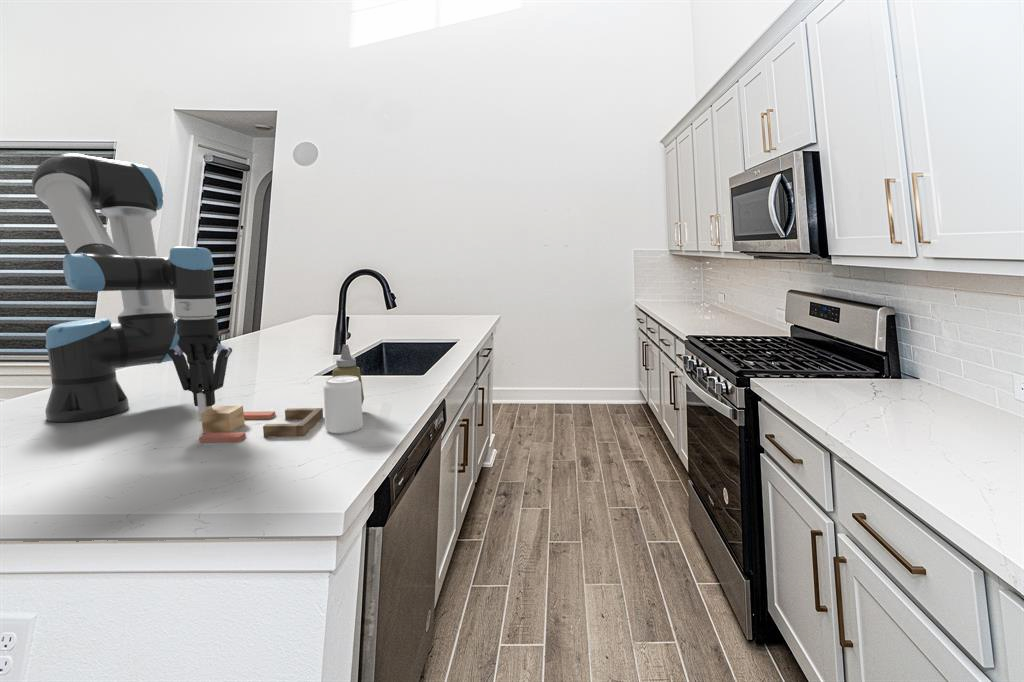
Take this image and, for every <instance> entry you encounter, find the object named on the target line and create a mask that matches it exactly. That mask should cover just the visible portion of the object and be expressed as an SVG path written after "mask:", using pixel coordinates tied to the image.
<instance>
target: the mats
mask: <svg viewBox="0 0 1024 682" xmlns="http://www.w3.org/2000/svg"><path fill="white" fill-rule="evenodd" d="M243 412H244V420H271V419H272V418H274V417H275V416H276V411H275V410H274V411H273V410H272V411H271V410H270V411H268V410H267V411H264V410H262V411H243ZM246 432H247V431H241V432H238V431H237V432H235V431H232V432H222V433H203V435H201V436H199V437H198V442H199V443H227V442H228V443H229V442H230V443H232V442H233V443H235V442H236V443H237V442H238V443H239V442H240V441H242V440H243V439H245V438H246V437H247V434H246Z"/></svg>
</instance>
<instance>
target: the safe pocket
mask: <svg viewBox="0 0 1024 682" xmlns="http://www.w3.org/2000/svg"><path fill="white" fill-rule="evenodd" d="M323 410H324V408H323V407H315V408H314V407H309V408H308V407H307V408H306V407H304V408H302V407H301V408H298V407H297V408H295V407H294V408H293V407H291V408H290V407H289V408H286V409H284V417H285V421H300V422H298V423H266V424H264V425H263V426H262V430H263V431H262V433H263V438H281V437H282V438H283V437H284V438H285V437H286V438H287V437H288V438H289V437H291V438H292V437H294V438H295V437H296V438H297V437H305V436H306V435H307V434H308V433H309V432H310V431H311V430H312V429H313V428H314V427H315V426H316V425H317V424H318V423H319V422H320V421H322V419H323V418H324V411H323Z"/></svg>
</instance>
